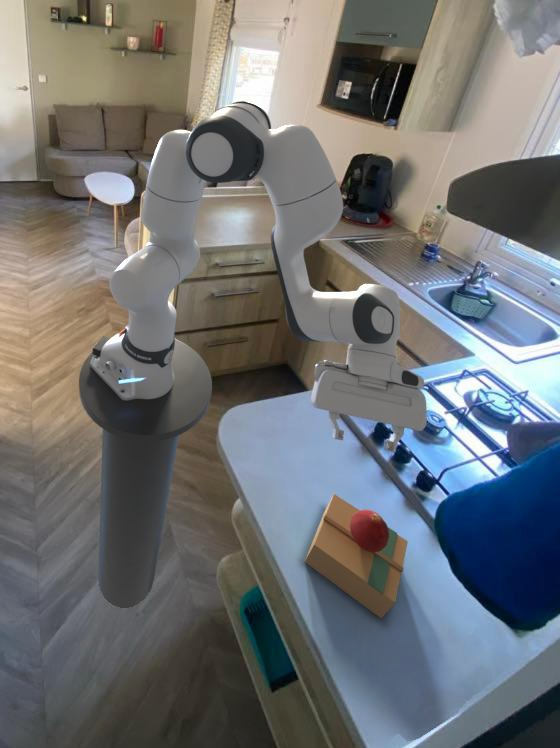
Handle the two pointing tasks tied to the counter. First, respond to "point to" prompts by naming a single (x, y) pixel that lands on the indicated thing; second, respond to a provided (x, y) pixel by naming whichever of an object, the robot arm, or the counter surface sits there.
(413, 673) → the counter surface
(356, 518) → the red round fruit
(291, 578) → the counter surface
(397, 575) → the brown cardboard box
